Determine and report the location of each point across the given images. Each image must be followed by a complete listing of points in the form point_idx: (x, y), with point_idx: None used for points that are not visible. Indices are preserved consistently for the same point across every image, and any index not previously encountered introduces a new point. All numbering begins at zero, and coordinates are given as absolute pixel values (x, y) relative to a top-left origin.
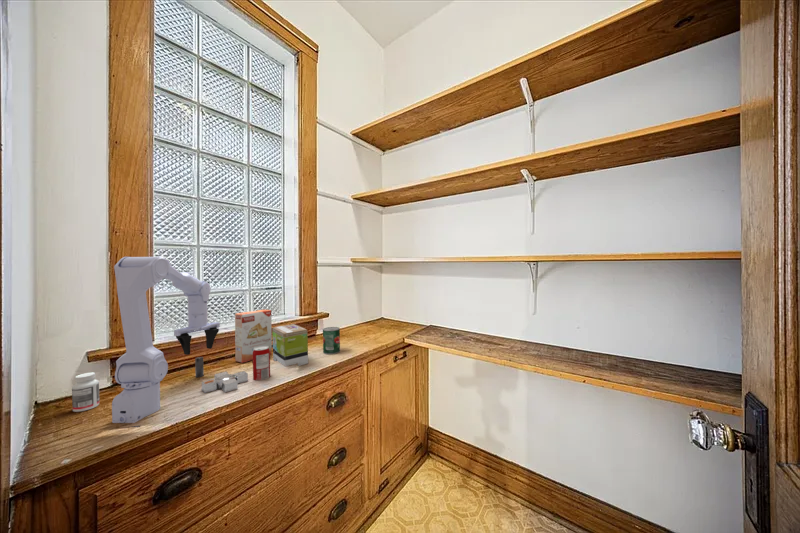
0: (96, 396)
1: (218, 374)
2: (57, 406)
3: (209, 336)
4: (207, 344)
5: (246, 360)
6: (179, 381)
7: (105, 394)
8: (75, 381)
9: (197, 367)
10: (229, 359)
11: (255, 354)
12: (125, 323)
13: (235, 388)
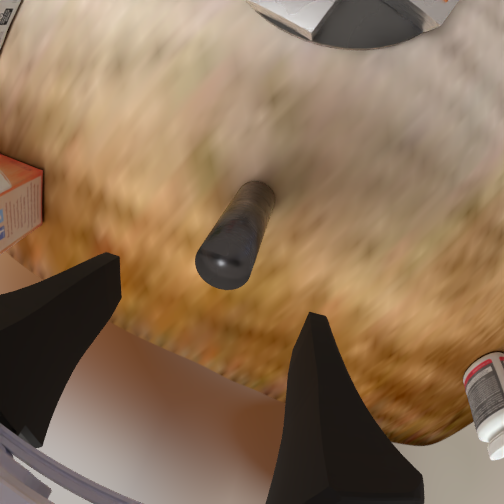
0: (498, 375)
1: (307, 3)
2: (453, 421)
3: (45, 350)
4: (102, 314)
5: (25, 166)
6: (290, 282)
7: (402, 403)
8: None
9: (261, 227)
10: (45, 266)
11: None
12: None
13: None
